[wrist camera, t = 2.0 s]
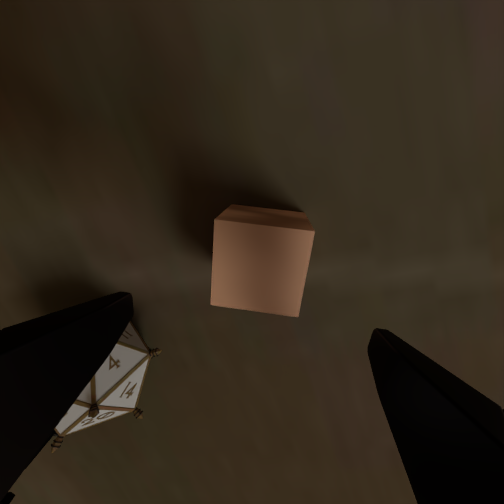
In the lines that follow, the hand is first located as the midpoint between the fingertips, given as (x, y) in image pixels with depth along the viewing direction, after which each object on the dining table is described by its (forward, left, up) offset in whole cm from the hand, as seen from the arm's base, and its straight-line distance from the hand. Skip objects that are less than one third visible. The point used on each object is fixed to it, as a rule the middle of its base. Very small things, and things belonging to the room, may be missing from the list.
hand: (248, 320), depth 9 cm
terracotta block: (0, 0, -9) cm, 9 cm away
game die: (-11, -10, -9) cm, 17 cm away
